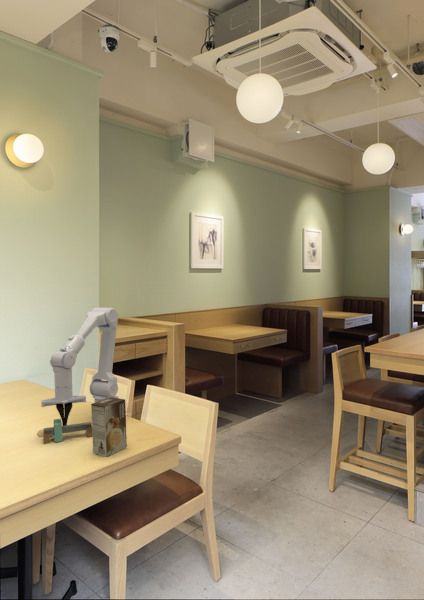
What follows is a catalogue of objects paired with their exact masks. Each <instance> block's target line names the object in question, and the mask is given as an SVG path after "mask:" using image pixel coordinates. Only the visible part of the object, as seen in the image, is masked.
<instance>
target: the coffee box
mask: <svg viewBox="0 0 424 600" xmlns="http://www.w3.org/2000/svg"><path fill="white" fill-rule="evenodd" d="M126 414H127V413H126V399H123V398H120V397H119V398H113V397H111V398H108V399H105V400H102V401H99V402H96V403H95V402H93V403H91V425H92V436H93V437H92V453H93V454H94V455H99V456H101V457H106V458H107V457H110V456H112V455H114V454H116V453H119V451H122V450H123V449H126V448H128V445H127V444H128V443H127V418H126V417H127V415H126Z"/></svg>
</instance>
